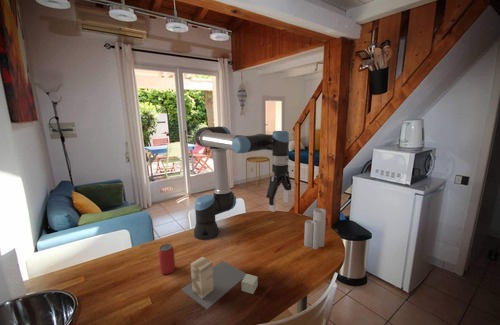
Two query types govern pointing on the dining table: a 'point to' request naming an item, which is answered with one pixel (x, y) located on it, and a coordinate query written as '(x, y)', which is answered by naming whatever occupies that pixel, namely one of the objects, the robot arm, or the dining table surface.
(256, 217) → the dining table surface
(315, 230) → the vase
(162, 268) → the beer can
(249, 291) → the sage cube
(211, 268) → the beech block
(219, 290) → the rubber mat
